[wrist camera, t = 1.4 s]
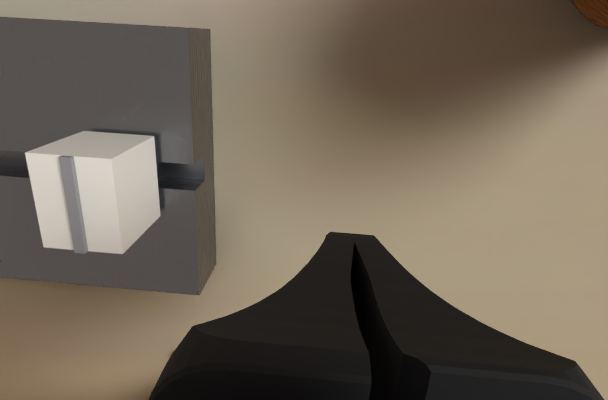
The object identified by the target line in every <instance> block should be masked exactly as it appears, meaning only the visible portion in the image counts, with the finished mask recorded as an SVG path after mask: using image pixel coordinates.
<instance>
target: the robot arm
mask: <svg viewBox="0 0 608 400" xmlns="http://www.w3.org/2000/svg"><path fill="white" fill-rule="evenodd" d="M149 400H604V399H603V398H602V396H601V395H600V393H599V392H598V391H597V389H596V388H595V387H594V385H593V384H592V383H591V381H590V380H589V379H588V377H587V376H586V374H585V373H584V372H583V370H582V369H581V368H580V367H579V365H578V364H577V363H576V362H575V361H573V360H570V359H567V358H565V357H562V356H559V355H556V354H554V353H551V352H548V351H545V350H543V349H540V348H537V347H534V346H532V345H529V344H526V343H524V342H522V341H519V340H517V339H515V338H513V337H510V336H508V335H506V334H504V333H501V332H499V331H497V330H495V329H493V328H491V327H489V326H487V325H485V324H483V323H481V322H479V321H477V320H476V319H474V318H472V317H470V316H469V315H467V314H465V313H463V312H462V311H460V310H458V309H457V308H455V307H453V306H452V305H450V304H449V303H447V302H446V301H444V300H443V299H442V298H440V297H439V296H437V295H436V294H435V293H433V292H432V291H430V290H429V289H428V288H427V287H425V286H424V285H423V284H422V283H420V282H419V281H418V280H417V279H416V278H415V277H414V276H412V275H411V274H410V273H409V272H408V271H407V270H406V269H405V268H404V267H403V266H402V265H401V264H400V263H399V262H398V261H397V260H396V259H395V258H394V257H393V256H392V255H391V254H390V253H389V252H388V251H387V250H386V248H385V247H384V246H383V245H382V244H381V243H380V242H379V241H378V239H377V238H376V237H375V236H374V235H362V234H350V233H337V232H330V233H328V234H327V235H326V238H325V240H324V242H323V243H322V245H321V247H320V248H319V250H318V251H317V252H316V254H315V255H314V256H313V257H312V259H311V260H310V261H309V262H308V264H307V265H306V266H305V267H304V268H303V269H302V270H301V271H300V272H299V273H298V274H297V275H296V276H295V277H294V278H293V279H292V280H290V281H289V282H288V283H287V284H286V285H284V286H283V287H282V288H281V289H279V290H278V291H276V292H275V293H273V294H271V295H270V296H268V297H266V298H265V299H263V300H261V301H260V302H258V303H256V304H254V305H252V306H249V307H247V308H245V309H243V310H240V311H238V312H236V313H233V314H230V315H228V316H225V317H222V318H218V319H215V320H212V321H209V322H205V323H202V324H198V325H194V326H193V327H192V328H191V329H190V331H189V332H188V333H187V335H186V336H185V337H184V339H183V340H182V342H181V343H180V344H179V346H178V347H177V348H176V350H175V351H174V353H173V354H172V356H171V357H170V359H169V360H168V362H167V364H166V366H165V368H164V369H163V371H162V373H161V375H160V377H159V379H158V381H157V383H156V385H155V387H154V389H153V391H152V393H151V396H150V398H149Z"/></svg>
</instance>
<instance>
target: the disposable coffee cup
mask: <svg viewBox="0 0 608 400" xmlns="http://www.w3.org/2000/svg"><path fill="white" fill-rule="evenodd" d="M572 1H573V2H574V4H575V6H576V7H577V9H578V10H579V11H580V12H581V13H582V14H583V15H584V16H585V17H586V18H588V19H589V20H591V21H592V22H594V23H595V24H597V25H599V26H602V27H605V28H608V0H572Z"/></svg>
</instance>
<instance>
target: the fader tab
mask: <svg viewBox="0 0 608 400" xmlns="http://www.w3.org/2000/svg"><path fill="white" fill-rule="evenodd" d="M25 156H26V161H27V166H28V171H29V176H30V181H31V186H32V192H33V197H34V202H35V207H36V212H37V217H38V222H39V227H40V232H41V237H42V242H43V247H45V248H57V249H68V250H74V253H81V254H86V253H87V252H88V251H92V252H103V253H115V254H123V253H124V252H125V251H126V250H127V249H128V248H129V247H130V246H131V245H132V244H133V243H134V242H135V241H136V240H137V239H138V238H139V237H140V236H141V235H142V234H143V233H144V232H145V231H146V230H147V229H148V228H149V227H150V226H151V225H152V224H153V223H154V222H155V221H156V220H157V219H158V218H159V217H160V203H159V190H158V178H157V165H156V152H155V140H154V136H148V135H134V134H120V133H106V132H92V131H82V132H79V133H76V134H74V135H71V136H68V137H66V138H63V139H60V140H58V141H55V142H52V143H49V144H47V145H44V146H41V147H39V148H36V149H33V150H31V151H28V152H25Z"/></svg>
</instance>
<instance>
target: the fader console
mask: <svg viewBox="0 0 608 400" xmlns="http://www.w3.org/2000/svg"><path fill="white" fill-rule="evenodd" d="M82 131H92V132H106V133H120V134H134V135H148V136H154V140H155V152H156V165H157V178H158V190H159V203H160V217H159V218H158V219H157V220H156V221H155V222H154V223H153V224H152V225H151V226H150V227H149V228H148V229H147V230H146V231H145V232H144V233H143V234H142V235H141V236H140V237H139V238H138V239H137V240H136V241H135V242H134V243H133V244H132V245H131V246H130V247H129V248H128V249H127V250H126V251H125V252H124V253H123V254H115V253H103V252H92V251H88V252H87V253H86V254H81V253H74V250H68V249H57V248H45V247H43V242H42V237H41V232H40V227H39V222H38V217H37V212H36V207H35V202H34V197H33V192H32V186H31V181H30V176H29V171H28V166H27V161H26V156H25V152H28V151H31V150H33V149H36V148H39V147H41V146H44V145H47V144H49V143H52V142H55V141H58V140H60V139H63V138H66V137H68V136H71V135H74V134H76V133H79V132H82ZM215 265H216V238H215V201H214V163H213V125H212V88H211V50H210V29H198V28H181V27H164V26H147V25H129V24H112V23H95V22H78V21H61V20H43V19H26V18H9V17H0V277H3V278H14V279H25V280H36V281H47V282H58V283H69V284H80V285H91V286H103V287H114V288H125V289H136V290H147V291H158V292H169V293H180V294H191V295H200V293H201V291H202V290H203V288H204V286H205V284H206V282H207V280H208V278H209V277H210V275H211V273H212V271H213V269H214V267H215Z"/></svg>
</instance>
